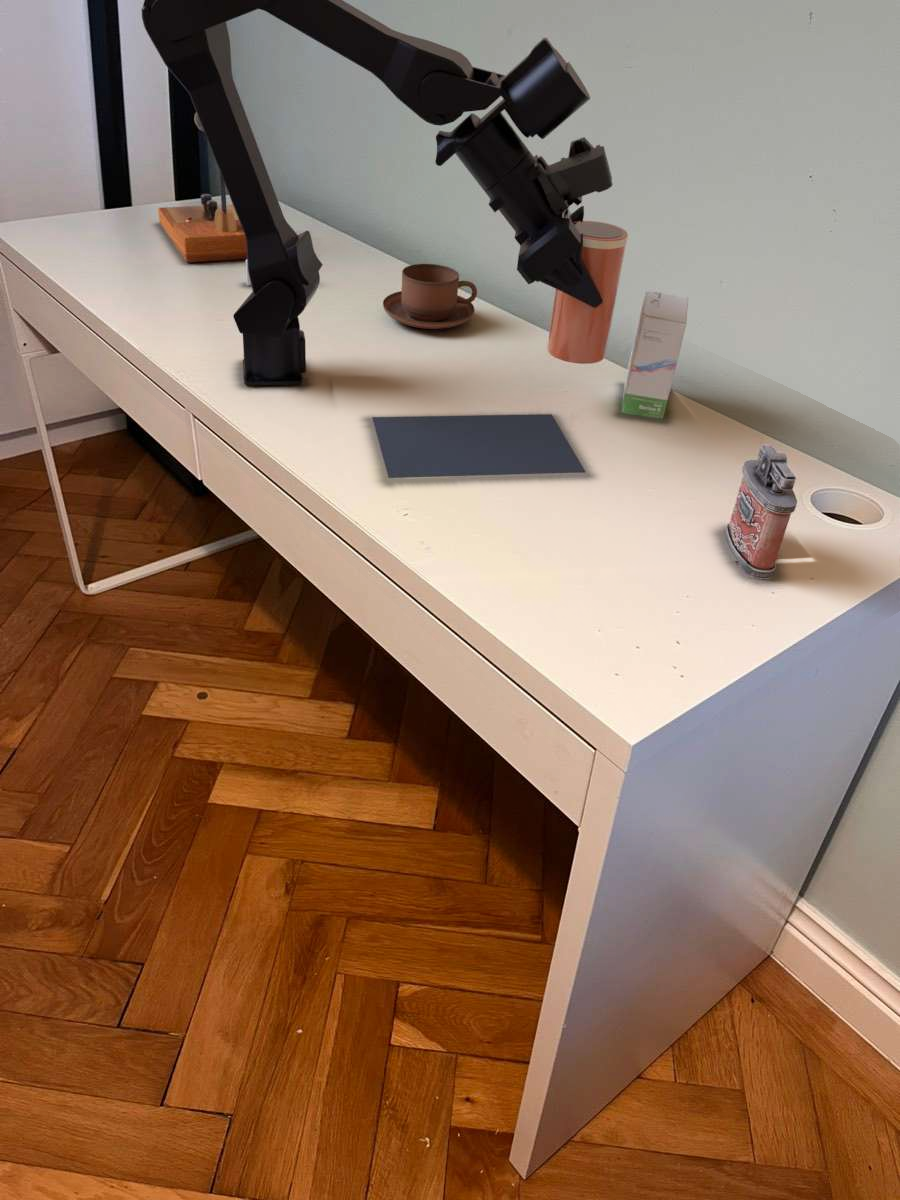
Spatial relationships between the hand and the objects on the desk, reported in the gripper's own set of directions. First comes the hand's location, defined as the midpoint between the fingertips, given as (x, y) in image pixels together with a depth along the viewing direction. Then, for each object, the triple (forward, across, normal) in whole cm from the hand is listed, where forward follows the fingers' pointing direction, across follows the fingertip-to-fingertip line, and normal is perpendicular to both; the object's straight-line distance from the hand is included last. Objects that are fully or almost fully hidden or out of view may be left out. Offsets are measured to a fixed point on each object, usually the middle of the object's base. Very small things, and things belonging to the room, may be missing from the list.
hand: (599, 293), depth 104 cm
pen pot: (+4, 0, +6) cm, 7 cm away
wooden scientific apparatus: (-28, +41, +47) cm, 68 cm away
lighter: (+21, -26, -2) cm, 33 cm away
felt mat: (+2, -12, +17) cm, 21 cm away
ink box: (+15, +4, +4) cm, 16 cm away
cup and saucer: (-5, +22, +24) cm, 33 cm away
